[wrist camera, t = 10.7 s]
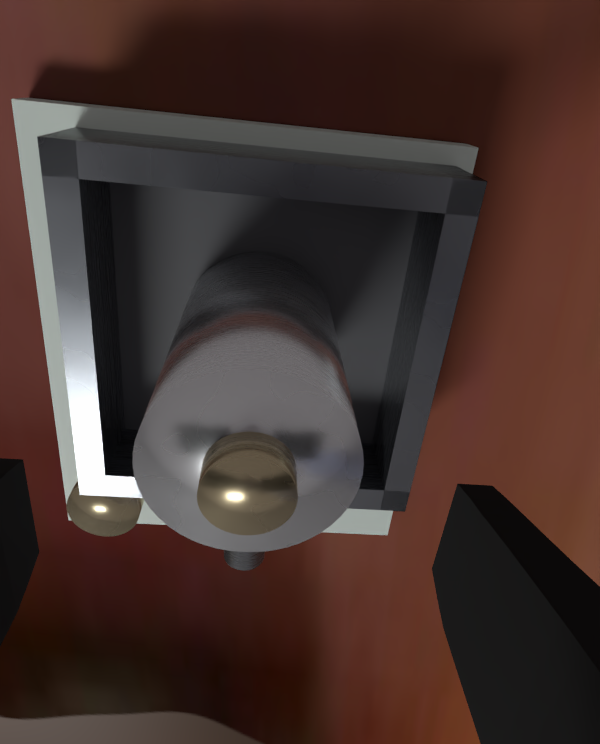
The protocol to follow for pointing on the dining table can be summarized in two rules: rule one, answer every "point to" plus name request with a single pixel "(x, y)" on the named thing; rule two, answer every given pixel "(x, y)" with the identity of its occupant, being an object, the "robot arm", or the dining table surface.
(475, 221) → the box
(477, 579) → the robot arm
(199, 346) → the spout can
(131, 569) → the dining table surface
